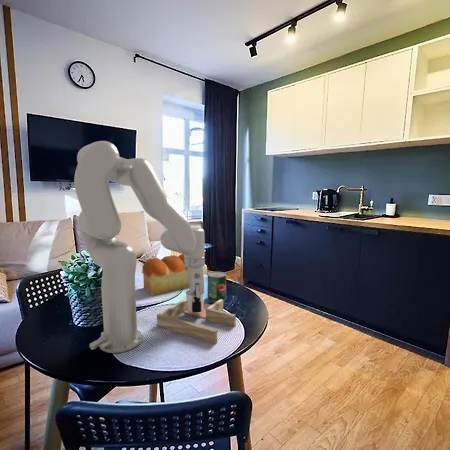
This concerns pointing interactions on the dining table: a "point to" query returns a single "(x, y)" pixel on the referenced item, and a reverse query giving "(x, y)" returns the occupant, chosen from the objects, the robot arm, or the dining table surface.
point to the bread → (165, 274)
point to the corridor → (191, 329)
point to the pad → (200, 314)
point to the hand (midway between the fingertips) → (195, 308)
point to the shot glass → (190, 300)
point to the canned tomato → (216, 286)
